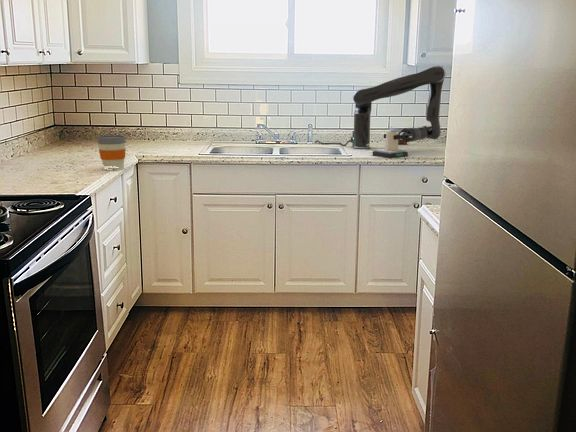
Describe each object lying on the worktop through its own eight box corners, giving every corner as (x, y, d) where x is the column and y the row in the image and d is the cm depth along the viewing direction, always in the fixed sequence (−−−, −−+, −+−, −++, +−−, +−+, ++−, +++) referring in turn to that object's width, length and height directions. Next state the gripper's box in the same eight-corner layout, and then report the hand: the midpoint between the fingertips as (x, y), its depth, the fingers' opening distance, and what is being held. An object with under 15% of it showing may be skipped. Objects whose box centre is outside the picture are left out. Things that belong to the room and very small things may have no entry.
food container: (386, 144, 370) (386, 127, 368) (389, 143, 376) (390, 126, 373) (406, 145, 365) (406, 128, 363) (409, 144, 370) (409, 127, 368)
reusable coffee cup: (104, 166, 295) (102, 135, 291) (130, 166, 294) (128, 135, 291) (95, 171, 283) (93, 138, 279) (123, 171, 282) (120, 138, 278)
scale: (372, 155, 326) (372, 149, 325) (389, 153, 334) (389, 147, 333) (390, 158, 316) (391, 152, 315) (408, 156, 323) (408, 150, 323)
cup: (383, 149, 325) (383, 132, 323) (391, 148, 329) (392, 131, 327) (391, 151, 320) (392, 133, 318) (400, 150, 324) (401, 132, 322)
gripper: (401, 126, 336) (379, 128, 326) (421, 128, 325) (399, 130, 315) (400, 140, 338) (378, 142, 328) (420, 142, 327) (399, 145, 317)
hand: (389, 136), depth 322 cm, fingers closed on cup, 6 cm apart
